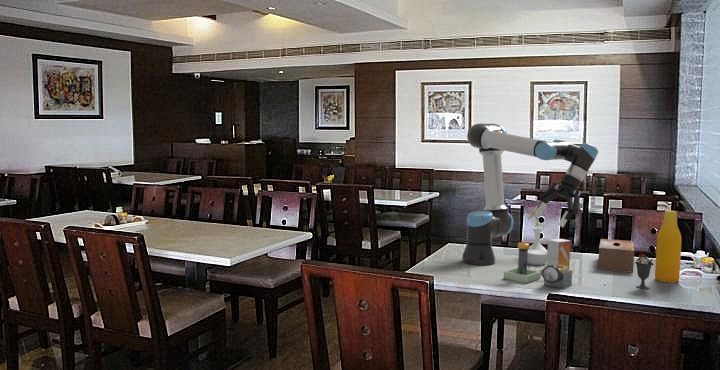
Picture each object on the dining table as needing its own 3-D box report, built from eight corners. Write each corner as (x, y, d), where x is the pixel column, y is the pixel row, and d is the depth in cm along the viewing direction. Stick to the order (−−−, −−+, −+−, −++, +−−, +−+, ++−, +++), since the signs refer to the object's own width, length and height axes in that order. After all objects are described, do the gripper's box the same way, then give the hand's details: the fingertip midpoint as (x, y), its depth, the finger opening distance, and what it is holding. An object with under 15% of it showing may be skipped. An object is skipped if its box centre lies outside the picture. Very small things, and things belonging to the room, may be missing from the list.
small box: (557, 271, 274) (559, 242, 273) (546, 268, 279) (547, 239, 278) (569, 269, 278) (571, 240, 277) (558, 266, 283) (559, 238, 282)
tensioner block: (540, 286, 246) (540, 264, 245) (552, 281, 254) (553, 260, 253) (559, 290, 240) (560, 267, 240) (571, 285, 249) (572, 263, 248)
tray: (503, 278, 258) (503, 271, 258) (516, 274, 266) (516, 267, 266) (528, 283, 251) (528, 276, 251) (540, 278, 259) (540, 271, 259)
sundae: (630, 286, 249) (631, 248, 248) (646, 285, 249) (648, 248, 248) (638, 290, 242) (640, 252, 241) (655, 290, 243) (657, 252, 242)
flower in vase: (529, 252, 315) (531, 203, 312) (551, 255, 308) (553, 205, 306) (519, 256, 304) (521, 206, 302) (542, 260, 297) (544, 208, 295)
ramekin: (544, 266, 283) (545, 255, 283) (520, 263, 289) (520, 252, 289) (551, 262, 293) (551, 251, 292) (527, 259, 299) (528, 248, 298)
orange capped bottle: (514, 276, 258) (515, 243, 257) (519, 275, 262) (521, 242, 261) (524, 278, 255) (526, 244, 254) (529, 276, 259) (531, 243, 258)
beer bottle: (675, 278, 263) (679, 210, 260) (682, 283, 254) (686, 213, 251) (652, 277, 265) (655, 209, 262) (657, 282, 256) (661, 212, 253)
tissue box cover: (599, 259, 303) (600, 238, 302) (632, 261, 297) (633, 241, 296) (598, 269, 279) (599, 247, 278) (633, 273, 273) (634, 250, 273)
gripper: (601, 189, 256) (576, 233, 255) (556, 174, 277) (532, 216, 276) (592, 181, 252) (566, 226, 251) (547, 167, 273) (522, 208, 272)
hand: (548, 221), depth 263 cm, fingers open, 13 cm apart
